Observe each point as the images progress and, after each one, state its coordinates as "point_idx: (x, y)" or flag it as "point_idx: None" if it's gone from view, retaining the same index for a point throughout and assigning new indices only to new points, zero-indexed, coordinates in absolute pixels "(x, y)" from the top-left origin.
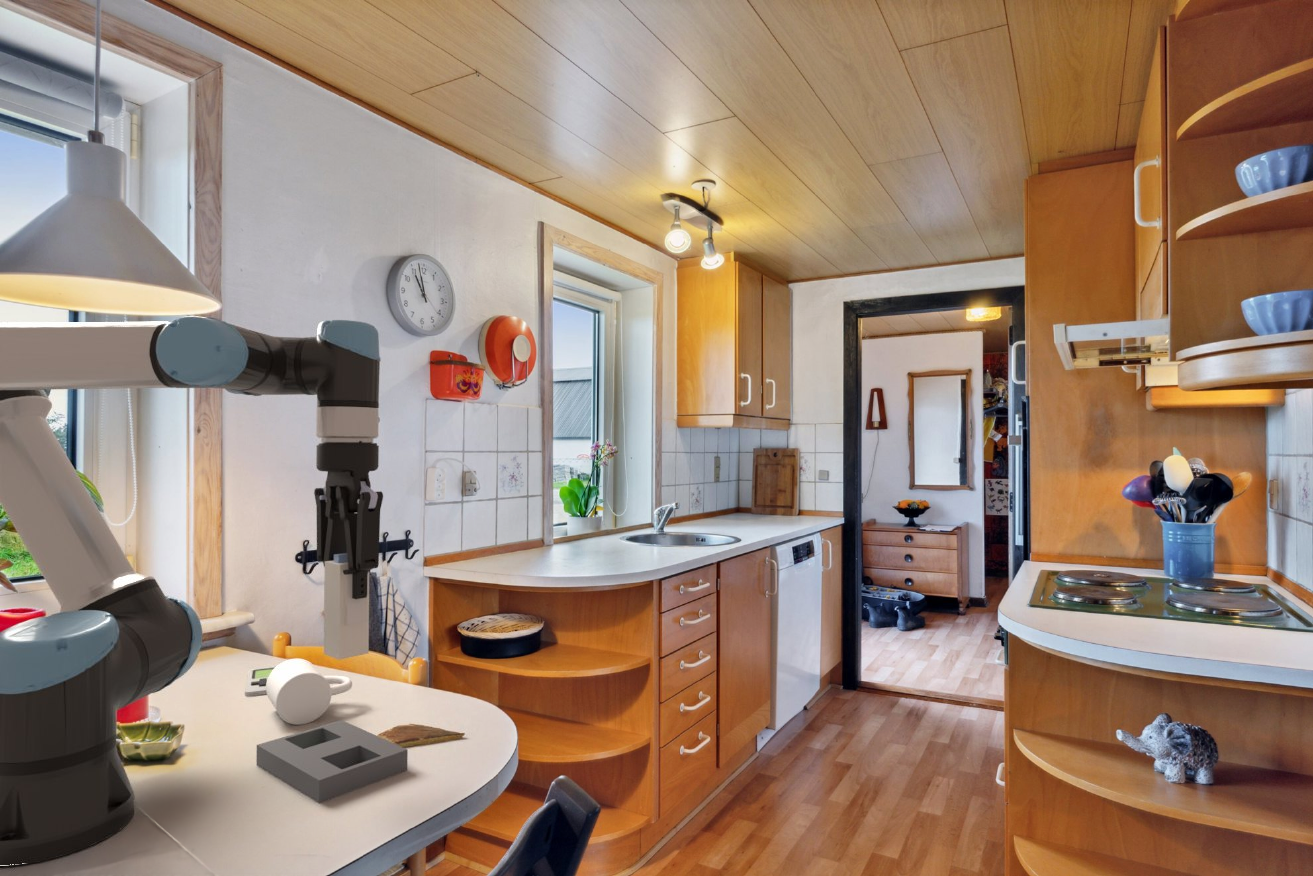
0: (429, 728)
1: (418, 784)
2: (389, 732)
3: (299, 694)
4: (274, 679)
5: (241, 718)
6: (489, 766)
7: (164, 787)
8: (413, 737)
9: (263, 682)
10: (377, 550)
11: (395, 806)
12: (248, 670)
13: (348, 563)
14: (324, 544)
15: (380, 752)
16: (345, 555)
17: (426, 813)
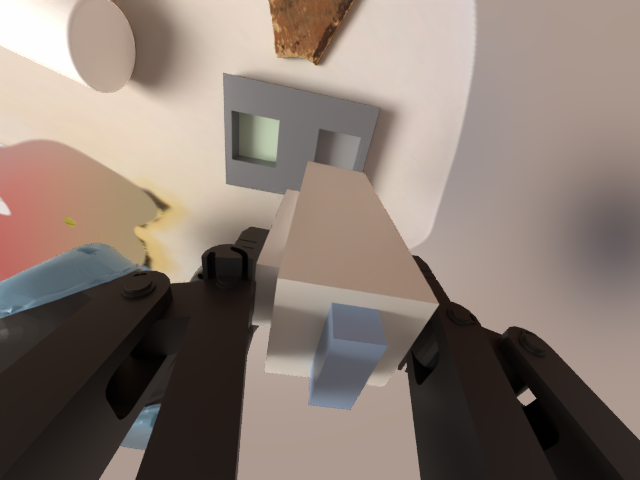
0: None
1: (404, 123)
2: (282, 34)
3: (100, 57)
4: (19, 53)
5: (56, 90)
6: (461, 33)
7: (216, 233)
8: (324, 27)
9: None
10: (616, 429)
11: (411, 169)
12: None
13: (412, 381)
14: (128, 414)
15: (356, 131)
16: (360, 389)
17: (445, 166)
